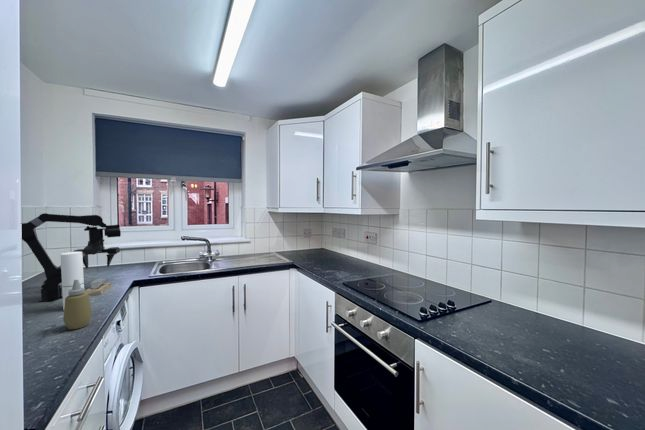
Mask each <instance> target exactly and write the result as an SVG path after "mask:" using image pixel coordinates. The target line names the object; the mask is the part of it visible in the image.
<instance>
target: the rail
mask: <svg viewBox="0 0 645 430" xmlns="http://www.w3.org/2000/svg"><path fill="white" fill-rule="evenodd" d="M111 288H113V282H112V281H111V282H108V281H107V282H105V283H104V285H103V286H99V289H92V287H91V286H90V287H89V288H87V289H85V293H87V294H88V295H89V297H91V296H99V295H102V294H104V293H105V292H106V291H108V290H109V289H111Z"/></svg>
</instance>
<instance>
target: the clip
mask: <svg viewBox="0 0 645 430" xmlns="http://www.w3.org/2000/svg"><path fill="white" fill-rule="evenodd" d="M105 279H106V278H105V277H102V278H101V277H99V278H96V279H94V280H93V281H91V282H90V287H92V289H99V286H103V285H104V283H106V282H105V281H106V280H105Z"/></svg>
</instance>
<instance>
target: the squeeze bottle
mask: <svg viewBox="0 0 645 430" xmlns="http://www.w3.org/2000/svg"><path fill="white" fill-rule="evenodd" d="M85 290H86V288H85V287H84V288H81V286H80V283H79V280H74V283H73V287H72V289H71V290H69V291H68V295H69V296H67V297H66V298H65V307H64V310H63V323H64V324H65V326H66V328H67V329H68V330H77V329H81V328H84V327H86V326H89V323H90V320H91V317H92V314H93V313H92V306H91V301H90V296H89V295H88V294H87V293H85Z"/></svg>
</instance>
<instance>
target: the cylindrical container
mask: <svg viewBox="0 0 645 430" xmlns="http://www.w3.org/2000/svg"><path fill="white" fill-rule="evenodd" d="M60 266H61V275H62V282H61V294H62V296H63V298H62V307H63V311H64V307H65V298H66V297H67V296H69V295H68V291H69V290H71V289H72V287H73V283H74V280H79V283H80V286H81V288H85V279H84V278H85V277H84V264H83V255H82V252H73V251H67V252H63V253H60Z"/></svg>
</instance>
